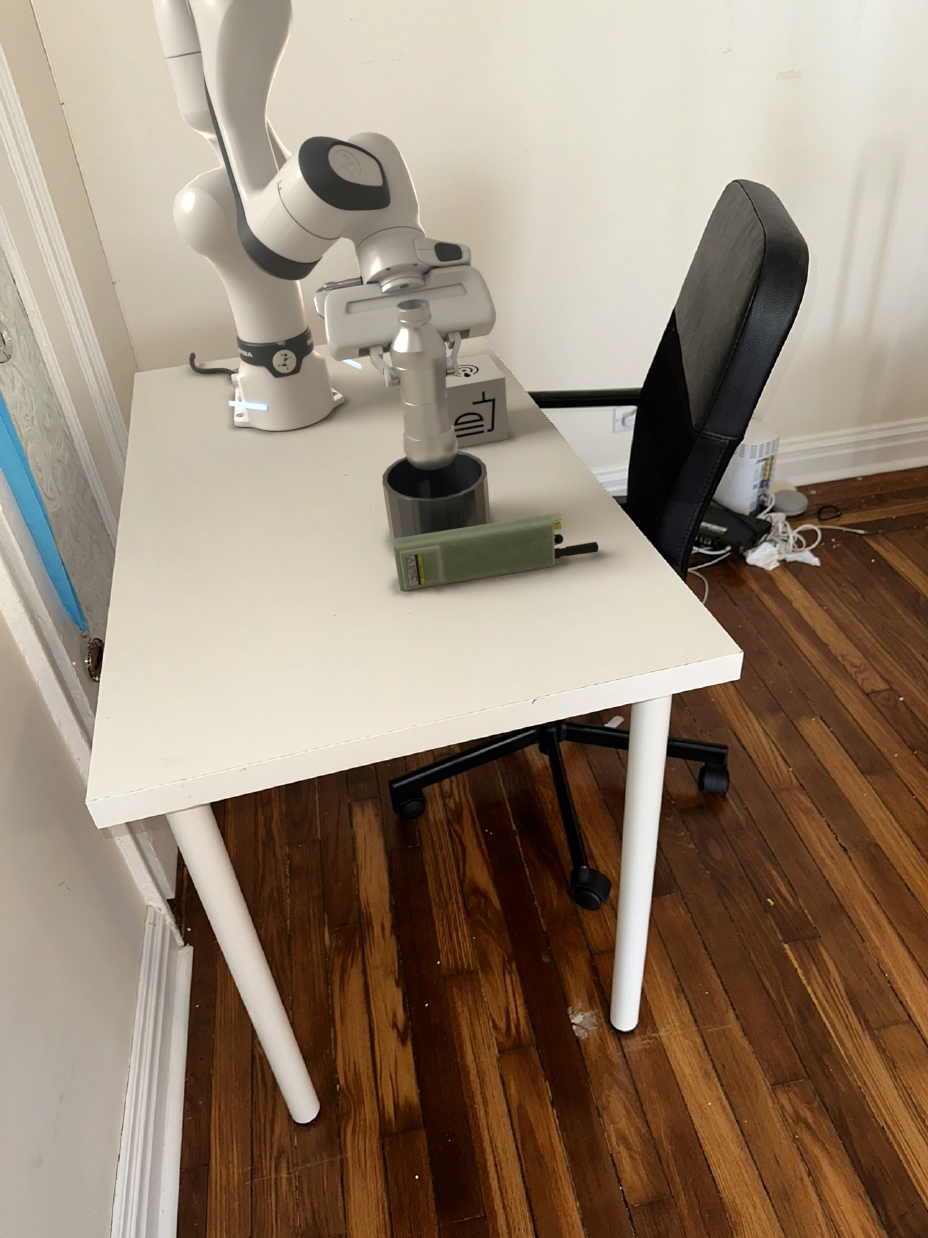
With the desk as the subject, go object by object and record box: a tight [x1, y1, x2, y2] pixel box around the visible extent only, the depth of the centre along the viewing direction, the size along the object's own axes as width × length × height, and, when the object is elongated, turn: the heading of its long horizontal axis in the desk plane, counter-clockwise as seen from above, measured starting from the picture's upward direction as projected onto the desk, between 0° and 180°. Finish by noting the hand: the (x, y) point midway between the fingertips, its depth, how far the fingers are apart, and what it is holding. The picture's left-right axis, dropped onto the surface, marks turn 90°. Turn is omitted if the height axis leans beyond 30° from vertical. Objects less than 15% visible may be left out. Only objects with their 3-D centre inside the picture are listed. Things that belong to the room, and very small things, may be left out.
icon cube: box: [446, 353, 509, 449], centre depth 142 cm, size 10×10×10 cm
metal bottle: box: [389, 299, 458, 470], centre depth 109 cm, size 6×7×20 cm
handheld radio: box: [392, 512, 599, 592], centre depth 111 cm, size 7×3×25 cm
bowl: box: [381, 450, 492, 545], centre depth 118 cm, size 13×13×9 cm
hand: (423, 379), depth 107 cm, fingers closed on metal bottle, 6 cm apart
